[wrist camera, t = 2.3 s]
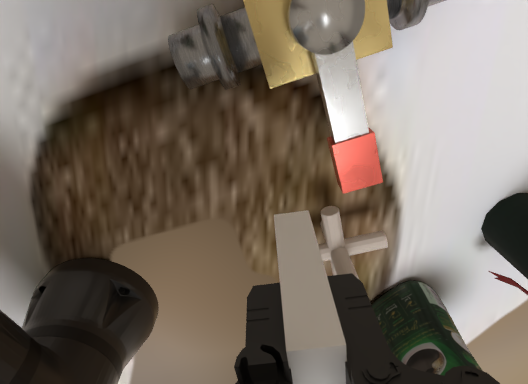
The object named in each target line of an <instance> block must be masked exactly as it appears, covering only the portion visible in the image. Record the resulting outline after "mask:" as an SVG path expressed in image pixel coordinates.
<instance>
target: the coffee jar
mask: <svg viewBox="0 0 528 384" xmlns="http://www.w3.org/2000/svg"><path fill="white" fill-rule="evenodd" d="M372 308H373V310H374V312H375V315H376V317H377V320H378V322H379V324H380V327H381V329H382V332H383V334H384V337H385V339H386V341H387V344H388V346H389V348H390V350H391V352H392V353H393V354H394V355H395V356H396V357H397V359H399V360H400V361H401V362H403V363H404V364H406V365H407V366H409V367H411V368H414V369H417V370H420V371H424V372H429V373H434V374H439V375H444V376H445V373H446V372H447V371H448V370H450V369H451V368H453V367H457V366H469V367H474V368H477V369H479V370H481V368H480V367H479V365H478V364H477V362H476V361H475V359H474V357H473V356H472V354H471V353H470V351H469V350H468V348H467V346H466V344H465V343H464V341H463V339H462V337H461V335H460V333H459V332H458V330H457V328H456V326H455V324H454V322H453V320H452V318H451V317H450V315H449V313H448V311H447V309H446V308H445V306H444V304H443V303H442V301H441V299H440V298H439V297H438V295H437V294H436V293H435V291H434V290H433V289H432V288H431V287H429V286H428V285H426V284H425V283H423V282H420V281H407V282H404V283H402V284H400V285H398V286H396V287H395V288H393V289H391V290H390V291H388V292H387V293H385V294H384V295H383V296H381V297H380V298H379V299H377V300H376V301H375V302H374V303H373V304H372ZM481 371H482V370H481Z"/></svg>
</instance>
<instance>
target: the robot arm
mask: <svg viewBox="0 0 528 384" xmlns="http://www.w3.org/2000/svg"><path fill="white" fill-rule="evenodd" d="M274 222H275V233H276V244H277V255H278V266H279V277H280V283H274V284H266V285H257V286H253V288H252V290H251V292H250V293H249V295H248V297H247V319H246V321H247V323H246V347H245V348H244V349H243V350H242V351H241V352H240V354H239V355H238V356H237V359H236V362H235V366H234V368H235V371H236V374H237V378H238V381H237V383H236V384H500V383H499V382H498V381H496V380H495V379H494V378H493V377H491V376H490V375H489V374H487V373H485V372H483V371H481V370H479V369H477V368H474V367H469V366H457V367H453V368H451V369H450V370H448V371H447V372H446V373H445V376H444V375H439V374H434V373H429V372H424V371H420V370H417V369H414V368H411V367H409V366H407V365H406V364H404V363H403V362H401V361H400V360H399V359H397V357H396V356H395V355H394V354H393V353H392V352H391V350H390V348H389V346H388V344H387V341H386V339H385V337H384V334H383V332H382V329H381V327H380V324H379V322H378V320H377V317H376V315H375V312H374V310H373V308H372V305H371V303H370V300H369V298H368V296H367V293H366V290H365V288H364V286H363V283H362V282H361V281H360V280H359V279H358V278H357V277H356V276H355V275H354V274H353V273H350V274H342V275H333V276H327V274H326V271H325V267H324V264H323V260H322V257H321V253H320V250H319V246H318V242H317V239H316V235H315V232H314V228H313V225H312V221H311V217H310V214H309V210H308V211H300V212H292V213H284V214H277V215H274ZM157 315H158V301H157V298H156V295H155V293H154V291H153V290H152V288H151V287H150V285H149V284H148V283H147V282H146V281H145V280H144V279H143V278H142V277H141V276H140V275H138V274H137V273H135V272H134V271H132V270H131V269H128V268H127V267H125V266H122V265H120V264H118V263H114V262H111V261H108V260H103V259H95V258H82V259H74V260H70V261H67V262H64V263H62V264H59V265H58V266H56V267H55V268H53V269H52V270H51V271H50V272H49V273H48V274H47V275H46V276H45V277H44V279H43V280H42V281H41V282H40V283H39V285H38V286H37V288H36V289H35V291H34V293H33V296H32V299H31V302H30V305H29V308H28V311H27V314H26V317H25V320H24V323H23V326H22V328H21V327H20V326H18V325H17V324H16V323H15V322H14V321H13V320H11V319H10V318H9V317H8V316H7V315H6V314H4V313H3V312H2V311H1V310H0V384H118V381H119V378H120V376H121V373H122V371H123V369H124V367H125V366H126V365H127V364H128V362H129V361H130V360H131V359H132V357H133V356H134V355H135V354H136V352H137V351H138V350H139V348H140V347H141V346H142V345H143V343H144V342H145V341H146V340H147V338H148V337H149V335H150V333H151V332H152V329H153V327H154V324H155V321H156V318H157Z"/></svg>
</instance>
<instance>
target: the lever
mask: <svg viewBox="0 0 528 384" xmlns="http://www.w3.org/2000/svg"><path fill="white" fill-rule="evenodd" d="M364 16H365V0H290V3H289V7H288V25H289V29H290V32H291V34H292V36H293V38H294V39H295V41H296V42H297V43H298V44H299V45H300V46H301V47H303V48H304V49H306V50H308V51H310V52H311V53H312V58H313V62H314V66H315V70H316V75H317V79H318V83H319V87H320V92H321V96H322V100H323V104H324V109H325V113H326V117H327V121H328V126H329V130H330V134H331V137H328V138H327V141H328V145H329V149H330V153H331V157H332V161H333V166H334V170H335V174H336V178H337V182H338V185H339V187H340V188H341V190H342V192H343V194H344V193H347V192H351V191H354V190H358V189H361V188H365V187H368V186H372V185H375V184H378V183H382V182H383V180H382V174H381V169H380V163H379V157H378V151H377V145H376V139H375V133H374V132H373V131H372V130H371V129H370V128H369V127H368V124H367V118H366V112H365V107H364V101H363V96H362V90H361V84H360V79H359V73H358V67H357V62H356V56H355V50H354V45H353V40H354V39H355V38H356V36H357V35H358V33H359V31H360V29H361V27H362V24H363V21H364Z"/></svg>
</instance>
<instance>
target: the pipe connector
mask: <svg viewBox="0 0 528 384" xmlns="http://www.w3.org/2000/svg"><path fill="white" fill-rule="evenodd" d="M321 217H322V221H321V223H320V226H321V229H322V232H323V235H324V238H325V241H326V243H323V244H319V245H318V246H319V250H320V253H321V257H322V260H323V261H327V260H330V261H331V266H332V271H333V275H342V274H350V273H353V274H354V275H355V276H356V277H357V278H358V276H357V273H356V271H355V268H354V266H353V263H352V261H351V259H350V255H355V254H359V253H364V252H369V251H373V250H378V249H383V248H387V247H388V242H387V238H386V235H385V233H384V232H383V231H378V232H373V233H369V234H364V235H360V236H355V237H351V238H346V239H344V236H343V230H342V224H341V218H340V213H339V208H338V207H336V206H327V207H324V208H323V209H322V210H321ZM358 279H359V278H358Z"/></svg>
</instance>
